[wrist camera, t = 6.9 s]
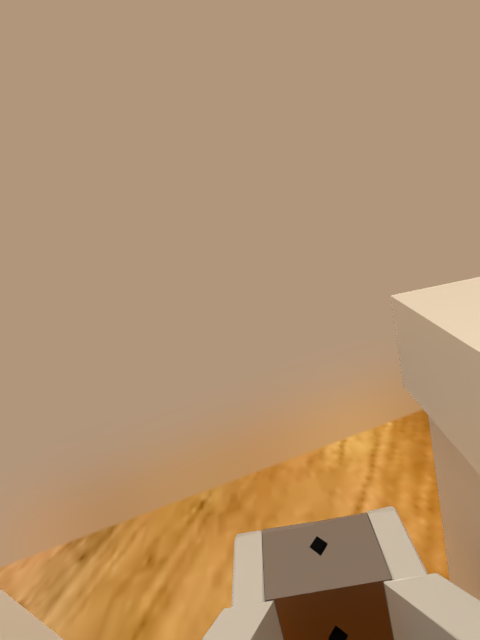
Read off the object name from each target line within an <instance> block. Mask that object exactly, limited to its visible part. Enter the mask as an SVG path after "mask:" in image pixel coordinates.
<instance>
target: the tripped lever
mask: <svg viewBox="0 0 480 640" xmlns="http://www.w3.org/2000/svg"><path fill="white" fill-rule="evenodd" d="M391 303H392V310H393V317H394V324H395V331H396V338H397V346H398V353H399V360H400V366H401V373H402V380H403V386H404V387H405V388H406V390H407V391H408V392H409V393H410V394H411V395H412V397H413V398H414V399H415V400H416V401H417V402H418V404H419V405H420V406H421V407H422V408H423V410H424V411H425V412H426V413H427V414H428V416H429V424H430V432H431V439H432V447H433V455H434V462H435V470H436V478H437V485H438V493H439V501H440V508H441V516H442V524H443V532H444V539H445V547H446V555H447V562H448V570H449V578H450V582H452V583H453V584H455V585H456V586H458V587H459V588H461V589H463V590H464V591H466V592H467V593H469V594H470V595H472V596H473V597H475V598H477V599H478V600H480V277H477V278H472V279H467V280H463V281H458V282H453V283H448V284H443V285H439V286H434V287H429V288H424V289H419V290H415V291H410V292H405V293H400V294H396V295H391Z"/></svg>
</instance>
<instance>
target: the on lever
mask: <svg viewBox="0 0 480 640" xmlns="http://www.w3.org/2000/svg"><path fill="white" fill-rule="evenodd" d="M0 640H64V639H62V638H61V637H60V636H59V635H57V634H56V633H55V632H54V631H52V630H51V629H50V628H49V627H47V626H46V625H45V624H44V623H42V622H41V621H40V620H39V619H37V618H36V617H35V616H34V615H32V614H31V613H30V612H29V611H27V610H26V609H25V608H24V607H22V606H21V605H20V604H19V603H17V602H16V601H15V600H14V599H12V598H11V597H10V596H9V595H7V594H6V593H5V592H4V591H2V590H1V589H0Z"/></svg>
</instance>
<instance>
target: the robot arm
mask: <svg viewBox="0 0 480 640" xmlns="http://www.w3.org/2000/svg"><path fill="white" fill-rule="evenodd" d="M202 640H480V600H478V599H477V598H475V597H473V596H472V595H470V594H469V593H467V592H466V591H464V590H463V589H461V588H459V587H458V586H456V585H455V584H453V583H452V582H450V581H448V580H447V579H445V578H444V577H442V576H441V575H439V574H438V573H434V574H428V573H427V571H426V569H425V567H424V565H423V563H422V561H421V559H420V557H419V555H418V553H417V551H416V549H415V547H414V545H413V543H412V541H411V539H410V537H409V535H408V533H407V531H406V529H405V527H404V525H403V523H402V521H401V519H400V517H399V515H398V513H397V511H396V509H395V508H394V507H392V506H390V507H385V508H381V509H376V510H371V511H366V513H360V514H354V515H349V516H344V517H338V518H333V519H327V520H322V521H317V522H309V523H303V524H296V525H290V526H283V527H277V528H270V529H264V530H263V531H261V530H260V531H254V532H248V533H241V534H237V535H236V538H235V540H234V563H233V587H232V607H231V608H226V609H223V610H222V612H221V613H220V614H219V616H218V617H217V619H216V620H215V622H214V623H213V624H212V626H211V627H210V629H209V630H208V631H207V633H206V634H205V636H204V637H203V638H202Z"/></svg>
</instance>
